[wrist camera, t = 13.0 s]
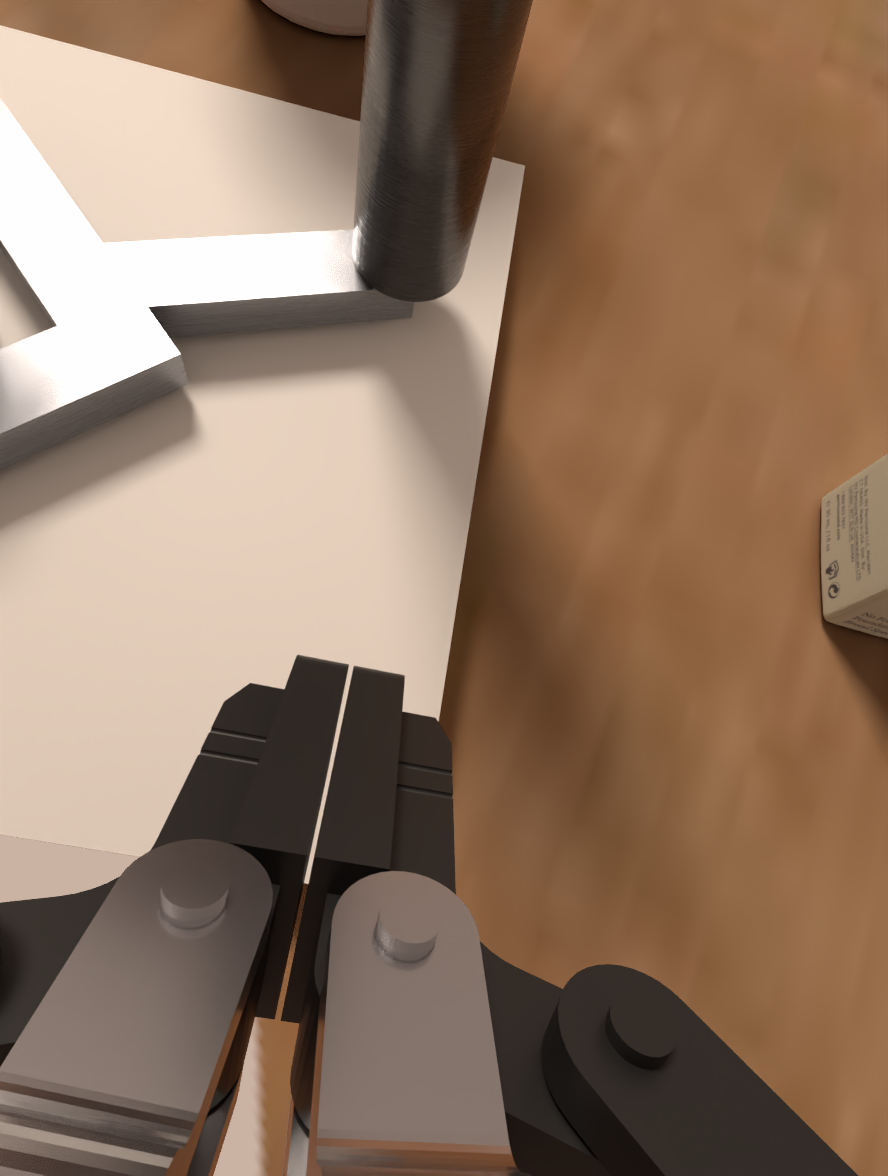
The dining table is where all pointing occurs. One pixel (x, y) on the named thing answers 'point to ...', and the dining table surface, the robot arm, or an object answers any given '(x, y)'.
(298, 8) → the coffee cup
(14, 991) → the robot arm
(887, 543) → the skincare box
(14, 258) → the grey angle bracket
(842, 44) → the dining table surface
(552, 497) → the dining table surface
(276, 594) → the post base
